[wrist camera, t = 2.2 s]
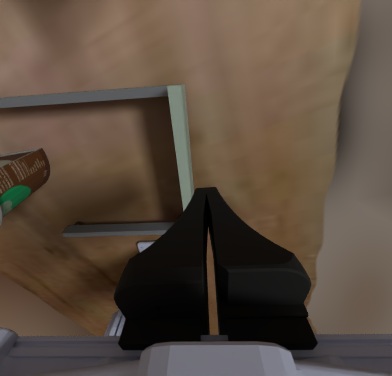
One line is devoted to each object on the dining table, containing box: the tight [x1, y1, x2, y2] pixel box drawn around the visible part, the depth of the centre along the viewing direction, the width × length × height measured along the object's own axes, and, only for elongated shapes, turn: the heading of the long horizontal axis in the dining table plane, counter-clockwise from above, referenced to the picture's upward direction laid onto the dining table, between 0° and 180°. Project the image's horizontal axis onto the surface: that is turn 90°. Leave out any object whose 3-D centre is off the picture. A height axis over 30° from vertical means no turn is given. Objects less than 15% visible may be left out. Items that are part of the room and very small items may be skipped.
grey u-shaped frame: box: [0, 84, 194, 237], centre depth 20 cm, size 18×19×5 cm
